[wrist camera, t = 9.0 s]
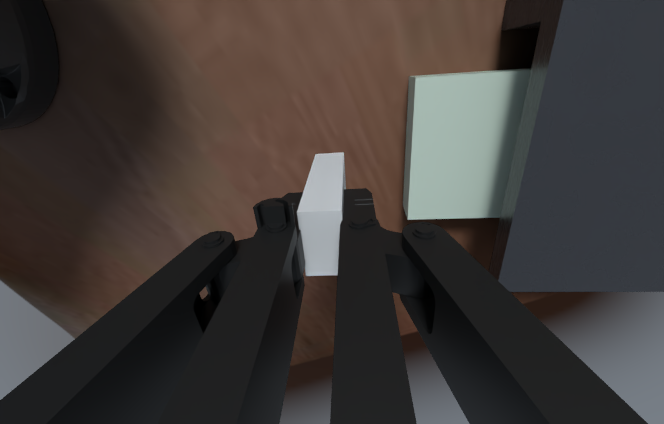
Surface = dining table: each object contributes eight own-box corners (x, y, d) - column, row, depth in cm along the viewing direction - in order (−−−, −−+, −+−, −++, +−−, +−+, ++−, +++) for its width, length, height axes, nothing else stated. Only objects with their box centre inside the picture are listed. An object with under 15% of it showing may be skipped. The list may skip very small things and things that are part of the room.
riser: (466, 245, 26) (495, 291, 21) (506, 0, 18) (569, -27, 13) (613, 242, 25) (683, 291, 19) (724, -21, 17) (895, -61, 12)
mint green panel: (402, 203, 25) (407, 219, 23) (408, 76, 21) (415, 77, 18) (575, 198, 24) (603, 215, 21) (621, 61, 19) (664, 60, 17)
